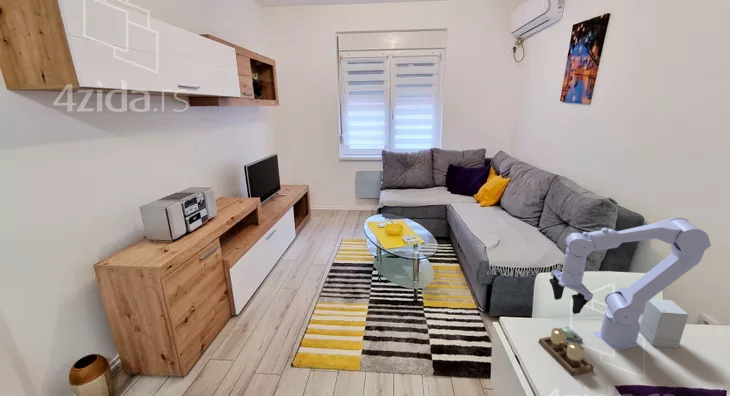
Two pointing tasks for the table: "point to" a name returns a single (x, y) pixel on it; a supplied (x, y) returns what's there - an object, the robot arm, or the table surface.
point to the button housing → (576, 339)
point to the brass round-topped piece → (558, 339)
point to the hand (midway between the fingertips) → (566, 305)
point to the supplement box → (663, 323)
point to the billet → (574, 354)
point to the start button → (568, 333)
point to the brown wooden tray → (560, 358)
